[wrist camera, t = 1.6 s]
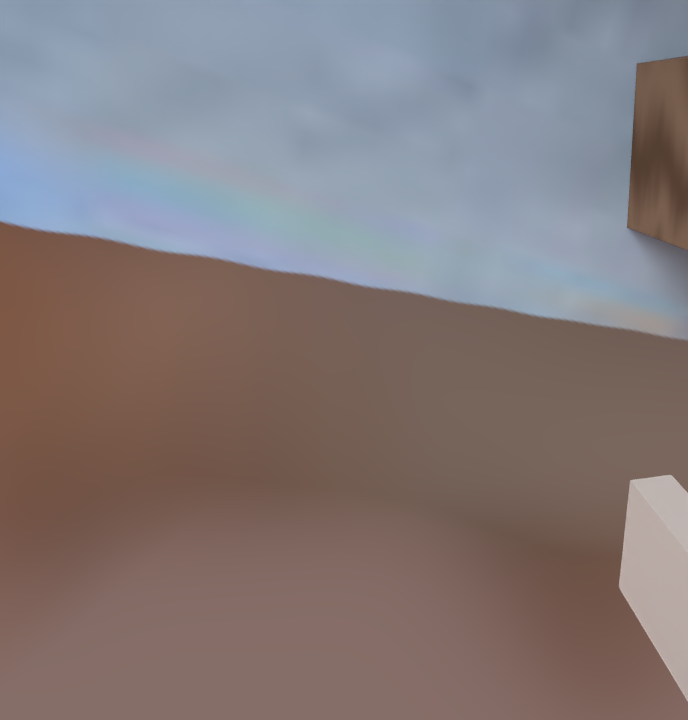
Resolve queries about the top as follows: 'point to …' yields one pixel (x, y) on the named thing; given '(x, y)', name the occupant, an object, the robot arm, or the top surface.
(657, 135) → the walnut stand
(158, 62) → the top surface
